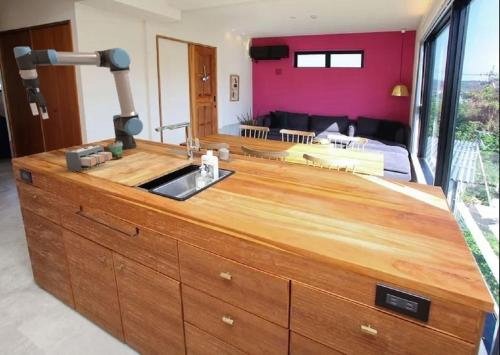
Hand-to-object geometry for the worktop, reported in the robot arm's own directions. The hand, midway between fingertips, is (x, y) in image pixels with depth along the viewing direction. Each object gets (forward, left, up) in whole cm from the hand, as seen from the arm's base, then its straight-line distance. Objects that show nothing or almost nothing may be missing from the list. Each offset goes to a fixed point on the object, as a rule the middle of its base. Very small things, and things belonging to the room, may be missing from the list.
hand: (40, 116), depth 186 cm
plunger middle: (-24, +27, -23) cm, 43 cm away
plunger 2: (-28, +23, -23) cm, 43 cm away
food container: (-37, +11, -27) cm, 47 cm away
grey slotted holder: (-19, +23, -26) cm, 40 cm away
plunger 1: (-19, +32, -23) cm, 44 cm away
